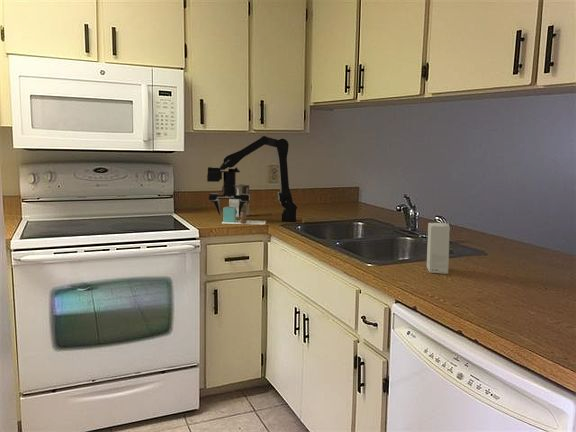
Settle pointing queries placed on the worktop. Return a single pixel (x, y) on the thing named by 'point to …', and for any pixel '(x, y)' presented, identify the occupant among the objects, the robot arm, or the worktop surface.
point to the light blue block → (229, 214)
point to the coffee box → (235, 202)
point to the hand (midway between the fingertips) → (229, 215)
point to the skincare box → (438, 248)
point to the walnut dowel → (243, 217)
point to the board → (246, 222)
